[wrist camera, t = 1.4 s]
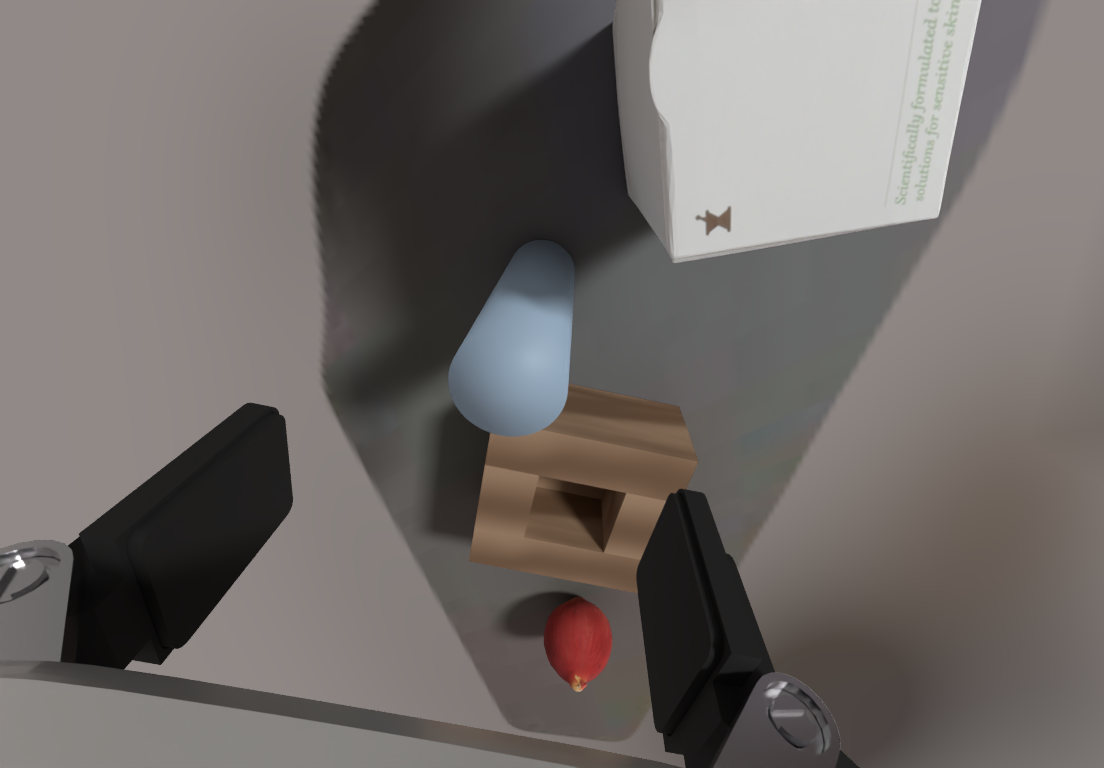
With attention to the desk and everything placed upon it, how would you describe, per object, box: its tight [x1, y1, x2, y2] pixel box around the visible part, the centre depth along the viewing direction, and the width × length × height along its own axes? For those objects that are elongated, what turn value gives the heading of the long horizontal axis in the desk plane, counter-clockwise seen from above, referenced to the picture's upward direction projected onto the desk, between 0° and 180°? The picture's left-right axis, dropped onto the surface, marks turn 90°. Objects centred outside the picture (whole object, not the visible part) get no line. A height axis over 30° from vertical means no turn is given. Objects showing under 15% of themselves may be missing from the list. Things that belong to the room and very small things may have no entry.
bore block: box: [469, 384, 698, 593], centre depth 31 cm, size 12×12×6 cm
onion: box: [544, 596, 612, 692], centre depth 38 cm, size 6×6×8 cm
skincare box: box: [613, 0, 981, 263], centre depth 16 cm, size 8×7×16 cm
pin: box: [448, 240, 575, 437], centre depth 21 cm, size 4×4×14 cm
